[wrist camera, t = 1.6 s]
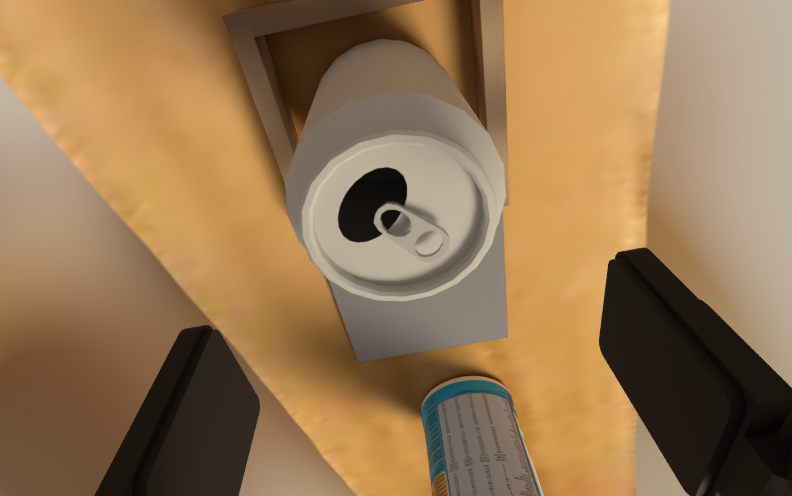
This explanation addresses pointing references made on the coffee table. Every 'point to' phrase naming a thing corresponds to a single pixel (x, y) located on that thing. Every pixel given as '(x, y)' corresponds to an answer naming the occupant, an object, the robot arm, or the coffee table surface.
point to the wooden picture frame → (323, 3)
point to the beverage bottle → (476, 441)
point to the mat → (431, 313)
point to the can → (393, 176)
